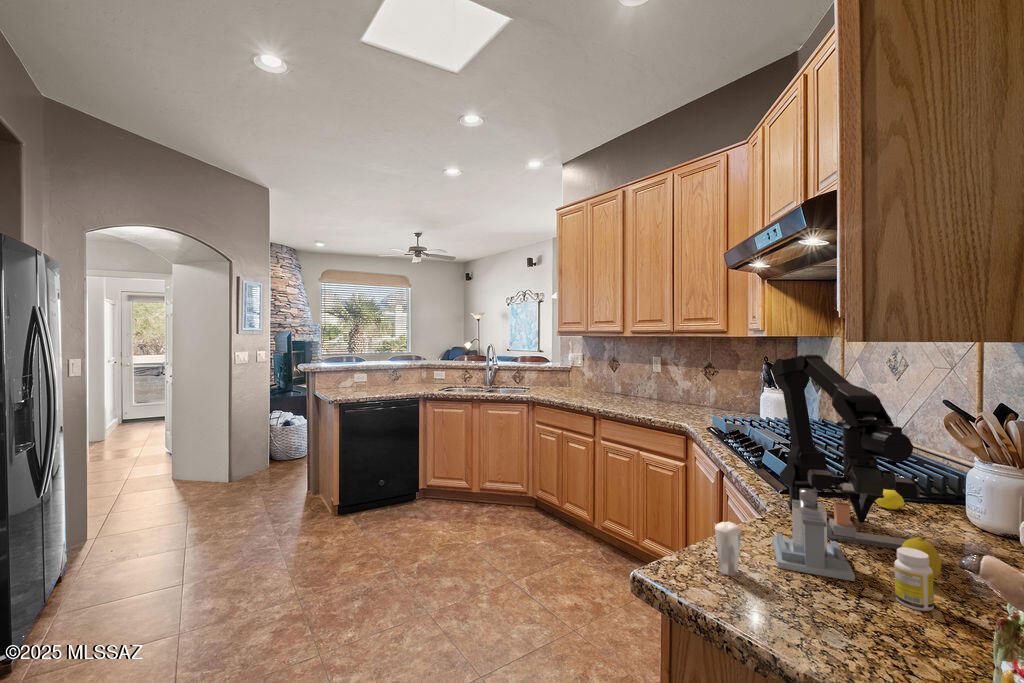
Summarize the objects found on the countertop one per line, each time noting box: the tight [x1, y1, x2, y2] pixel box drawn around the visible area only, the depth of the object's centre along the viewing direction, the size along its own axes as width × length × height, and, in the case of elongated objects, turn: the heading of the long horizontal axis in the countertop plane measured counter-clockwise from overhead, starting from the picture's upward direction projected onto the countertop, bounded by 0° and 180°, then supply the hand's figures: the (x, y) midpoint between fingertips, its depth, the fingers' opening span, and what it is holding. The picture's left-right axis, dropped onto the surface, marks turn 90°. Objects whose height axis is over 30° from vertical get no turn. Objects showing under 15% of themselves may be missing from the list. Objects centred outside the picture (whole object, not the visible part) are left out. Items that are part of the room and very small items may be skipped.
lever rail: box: [827, 523, 916, 550], centre depth 98 cm, size 4×16×2 cm, turn 64°
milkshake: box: [710, 514, 742, 577], centre depth 86 cm, size 4×5×10 cm
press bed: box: [771, 515, 856, 582], centre depth 90 cm, size 13×12×10 cm
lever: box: [828, 500, 857, 538], centre depth 100 cm, size 4×4×6 cm
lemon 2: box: [901, 536, 942, 580], centre depth 81 cm, size 6×6×8 cm
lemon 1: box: [874, 489, 905, 511], centre depth 118 cm, size 7×5×5 cm
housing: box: [791, 488, 828, 557], centre depth 90 cm, size 6×6×12 cm
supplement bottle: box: [893, 547, 935, 612], centre depth 74 cm, size 5×5×8 cm
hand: (860, 522), depth 98 cm, fingers closed
